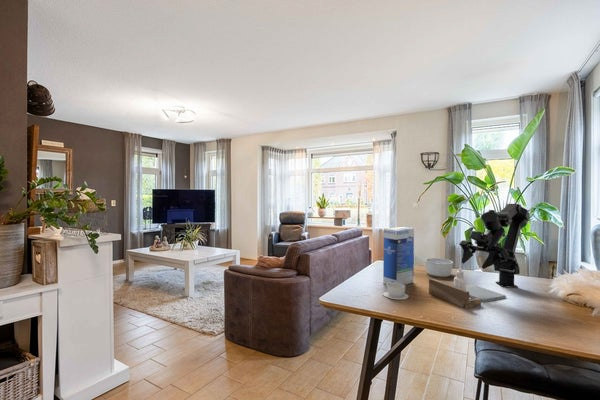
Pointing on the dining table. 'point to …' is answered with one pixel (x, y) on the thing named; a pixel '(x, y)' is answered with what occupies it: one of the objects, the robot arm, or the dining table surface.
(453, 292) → the walnut stand
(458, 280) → the eye dropper bottle
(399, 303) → the dining table surface
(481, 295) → the grey mat
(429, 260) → the ramekin
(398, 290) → the teacup
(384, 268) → the string lights box
